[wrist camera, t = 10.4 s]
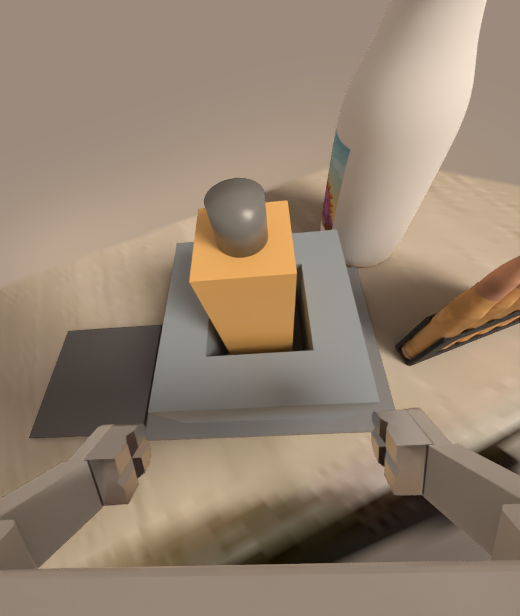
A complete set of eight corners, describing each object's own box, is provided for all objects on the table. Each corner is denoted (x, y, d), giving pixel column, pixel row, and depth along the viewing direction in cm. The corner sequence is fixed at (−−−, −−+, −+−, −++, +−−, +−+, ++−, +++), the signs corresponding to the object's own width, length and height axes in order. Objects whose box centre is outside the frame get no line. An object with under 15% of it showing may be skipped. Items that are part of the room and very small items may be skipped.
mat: (32, 438, 20) (29, 438, 20) (70, 332, 24) (68, 331, 24) (143, 433, 19) (142, 433, 19) (162, 326, 24) (161, 324, 24)
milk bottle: (409, 235, 27) (640, -173, 9) (369, 283, 24) (584, -146, 7) (344, 205, 30) (428, -145, 12) (303, 246, 27) (335, -120, 10)
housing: (149, 440, 19) (88, 436, 13) (174, 285, 26) (141, 237, 20) (396, 430, 18) (449, 421, 12) (354, 271, 25) (375, 216, 19)
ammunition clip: (407, 366, 20) (538, 276, 10) (394, 346, 21) (500, 243, 11) (522, 321, 21) (753, 195, 11) (504, 303, 22) (701, 170, 12)
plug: (238, 368, 20) (168, 246, 8) (238, 321, 23) (183, 168, 10) (291, 365, 20) (299, 235, 8) (286, 318, 22) (287, 157, 10)
